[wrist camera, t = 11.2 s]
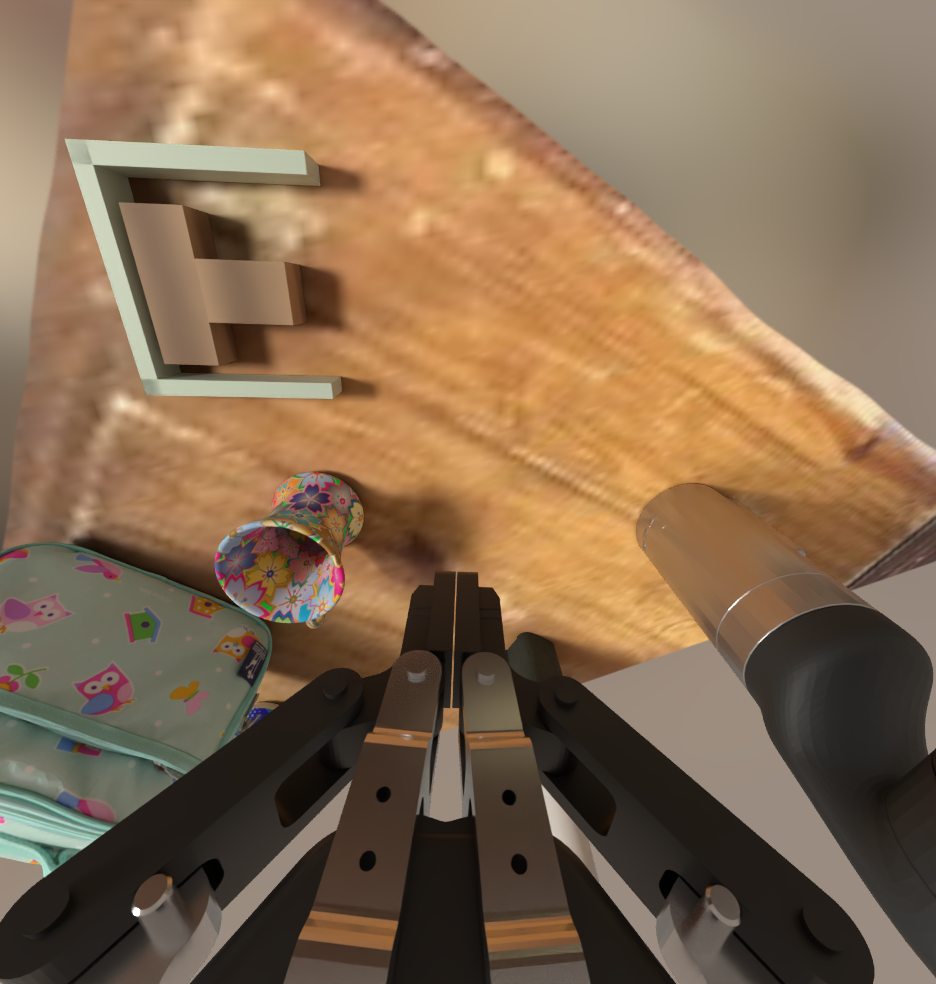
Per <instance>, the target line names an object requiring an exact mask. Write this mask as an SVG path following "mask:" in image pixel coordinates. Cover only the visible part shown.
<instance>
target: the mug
mask: <svg viewBox="0 0 936 984" xmlns="http://www.w3.org/2000/svg"><path fill="white" fill-rule="evenodd" d="M363 520H364V514H363V508H362V504H361V502H360V500H359V498H358V496H357V495H356V493H355V492H354V491H353V490H352V489H351V488H350V487H349V486H348V485H347V484H346V483H344V482H343V481H341V480H340V479H338V478H336V477H334V476H331V475H328V474H324V473H319V472H306V473H301V474H297V475H295V476H292V477H290V478H289V479H287V480H286V481H284V482H283V483H282V484H281V485H280V486H279V488H278V489H277V491H276V492H275V495H274V498H273V503H272V512H271V513H270V514H269V515H268V516H267V517H265V518H264V519H262V520H259V521H255V522H251V523H248V524H245V525H242V526H240V527H238V528H236V529H235V530H233V531H232V532H231V533H229V534H228V535H227V536H226V537H225V538H224V539H223V541H222V542H221V544H220V545H219V547H218V550H217V552H216V557H215V572H216V576H217V579H218V581H219V583H220V585H221V587H222V589H223V590H224V592H225V593H226V594H227V595H228V597H229V598H230V599H231V600H232V601H233V602H235V603H236V604H237V605H238V606H240V607H241V608H242V609H244V610H246V611H247V612H249V613H251V614H253V615H255V616H257V617H260V618H263V619H266V620H270V621H274V622H281V623H300V622H306V624H307V626H308V627H310V628H318V627H320V626H321V625H322V623H323V621H324V617H325V613H327V612H328V611H329V610H331V609H332V608H333V607H334V606H335V605H336V604H337V602H338V601H339V599H340V597H341V595H342V593H343V590H344V585H345V574H344V569H343V565H342V562H341V552H342V549H343V547H344V546H346V545H348V544H349V543H351V542H352V541H353V540H354V539H355V538H356V537H357V536H358V534H359V533H360V531H361V528H362V525H363ZM314 619H316V620H315V621H314Z"/></svg>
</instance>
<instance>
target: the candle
mask: <svg viewBox="0 0 936 984" xmlns="http://www.w3.org/2000/svg"><path fill="white" fill-rule="evenodd" d="M505 653H506V659H507V661H508V663H509V665H510V667H511V668H512V669H513V670H514V671H515V672H516V673H518V674H519V675H520V676H522V677H524V678H527V679H529V680H532V681H535V682H538V683H541V684H542V683H543V682H544V681H545V680H546V679H548V678H550V677H553V676H563V675H562V672H561V668H560V665H559V662H558V658H557V655H556V651H555V648H554V645H553V643H552V642H550V641H548V640H545V639H543V638H541V637H538V636H536V635H534V634H532V633H527V632H526V633H521V634H520V635H518V636H517V640H516V641H515V642H514V643H513V644H512V645H511V646H510V648H509V649H508V650H505ZM541 786H542V784H541ZM542 790H543V795H544V799H545V804H546V808H547V813H548V817H549V822H550V826H551V831H552V835H553V836H555V837H556V838H558V839H559V840H561V841H562V842H563V843H564V844H565V845H567V846H568V847H569V848H570V849H571V850H572V851H573V852H574V853H575V854H576V855H577V856H578V857H579V858H580V859H581V861H582V862H583V863H584V864H585V866H586V867H587V868H588V870H589V871H590V872H591V873H592V875H593V876H594V877H595V879H596V880H597V881H598V883H599V880H598V876H597V872H596V868H595V864H594V860H593V856H592V852H591V848H590V844H589V840H588V838H587V837H586V836H585V835H584V833H583V832H582V831H581V830H580V829H579V828H578V826H577V825H576V824H575V823H574V822H573V821H572V819H571V818H570V817H569V816H568V815H567V814H566V812H565V811H564V810H563V809H562V808H561V807H560V805H559V804H558V803H557V802H556V801H555V800H554V798H553V797H552V796H551V795H550V794H549V793H548V791H547V790H546V789H545V788H544V787H543V786H542Z"/></svg>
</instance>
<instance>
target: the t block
mask: <svg viewBox="0 0 936 984" xmlns="http://www.w3.org/2000/svg"><path fill="white" fill-rule="evenodd" d="M118 203H119V206H120V210H121V213H122V217H123V220H124V224H125V227H126V231H127V234H128V238H129V241H130V245H131V248H132V252H133V255H134V259H135V262H136V266H137V269H138V273H139V276H140V280H141V283H142V287H143V290H144V294H145V297H146V301H147V304H148V308H149V311H150V315H151V318H152V322H153V325H154V329H155V332H156V336H157V339H158V343H159V346H160V349H161V353H162V356H163V360H164V363H165V364H184V365H218V366H219V365H222V364H226V363H229V362H233V361H236V360H238V355H237V350H236V346H235V341H234V336H233V331H232V326H231V323H241V324H271V325H297V324H303V323H307V317H306V309H305V301H304V294H303V286H302V278H301V271H300V265H297V264H292V263H287V262H272V261H245V260H219V259H217V254H216V250H215V245H214V240H213V235H212V230H211V226H210V221H209V216H208V213H205V212H202V211H199V210H196V209H193V208H190V207H187V206H184V205H170V204H146V203H122V202H118Z"/></svg>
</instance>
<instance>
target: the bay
mask: <svg viewBox="0 0 936 984" xmlns="http://www.w3.org/2000/svg"><path fill="white" fill-rule="evenodd" d="M65 141H66V145H67V148H68V151H69V154H70V157H71V160H72V163H73V167H74V170H75V173H76V176H77V179H78V182H79V185H80V189H81V192H82V195H83V198H84V201H85V204H86V207H87V211H88V214H89V217H90V220H91V223H92V226H93V229H94V233H95V236H96V239H97V242H98V245H99V248H100V251H101V255H102V258H103V261H104V264H105V267H106V270H107V273H108V277H109V280H110V283H111V286H112V289H113V292H114V295H115V299H116V302H117V305H118V308H119V311H120V314H121V317H122V321H123V324H124V327H125V330H126V333H127V336H128V339H129V343H130V346H131V349H132V352H133V355H134V358H135V361H136V365H137V368H138V371H139V374H140V377H141V380H142V383H143V387H144V390H145V393H146V395H174V396H221V397H269V398H316V399H333V398H335V397H336V396H337V395H338V394H339V393H340V392H341V391H342V383H341V376H305V375H263V374H221V373H181V370H180V366H179V364H165V363H164V360H163V356H162V353H161V349H160V346H159V343H158V339H157V336H156V332H155V329H154V325H153V322H152V318H151V315H150V311H149V308H148V304H147V301H146V297H145V294H144V290H143V287H142V283H141V280H140V276H139V273H138V269H137V266H136V262H135V259H134V255H133V252H132V248H131V245H130V241H129V238H128V234H127V231H126V227H125V224H124V220H123V217H122V213H121V210H120V206H119V203H118V202H122V203H135V202H134V198H133V194H132V191H131V187H130V183H129V180H128V177H130V178H152V179H174V180H197V181H219V182H241V183H263V184H285V185H308V186H321V185H320V175H319V166H318V164H317V163H316V162H315V161H314V160H313V159H312V158H311V157H310V156H309V155H308V154H307V153H306V152H305V151H303V150H283V149H262V148H242V147H221V146H201V145H180V144H160V143H140V142H119V141H99V140H78V139H65Z"/></svg>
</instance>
